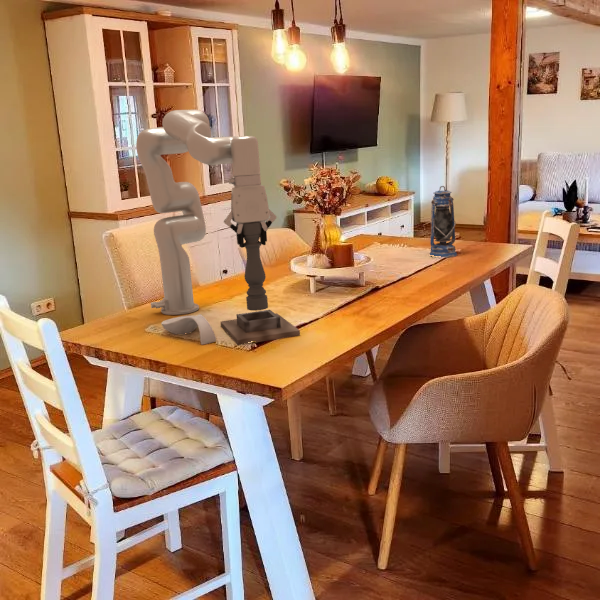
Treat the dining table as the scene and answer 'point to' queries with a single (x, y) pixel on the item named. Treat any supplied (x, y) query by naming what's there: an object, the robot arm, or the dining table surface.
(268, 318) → the socket board
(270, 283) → the dining table surface
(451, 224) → the lantern
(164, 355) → the dining table surface
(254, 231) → the candle holder
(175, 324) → the spoon rest
